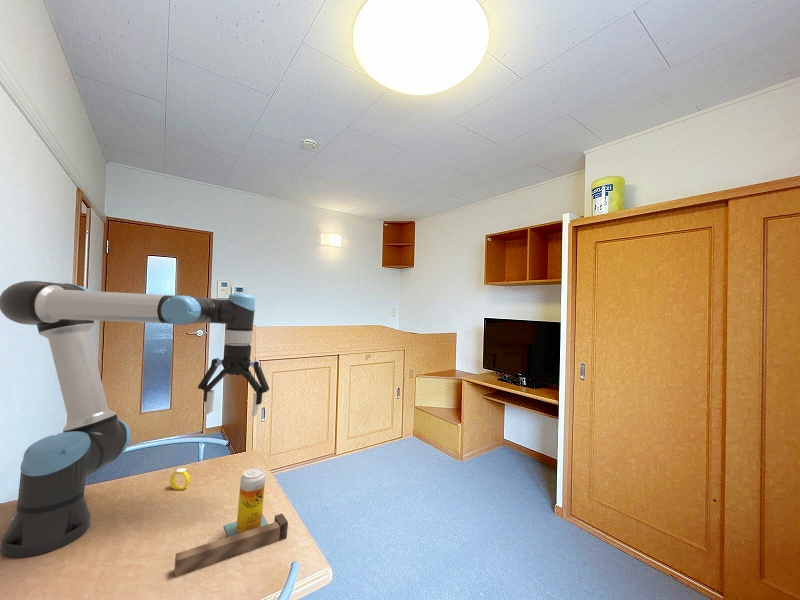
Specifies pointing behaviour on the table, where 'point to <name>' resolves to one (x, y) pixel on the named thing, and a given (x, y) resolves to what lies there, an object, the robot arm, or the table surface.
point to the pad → (232, 526)
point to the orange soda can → (250, 500)
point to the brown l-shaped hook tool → (230, 546)
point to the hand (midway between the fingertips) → (231, 413)
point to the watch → (180, 471)
